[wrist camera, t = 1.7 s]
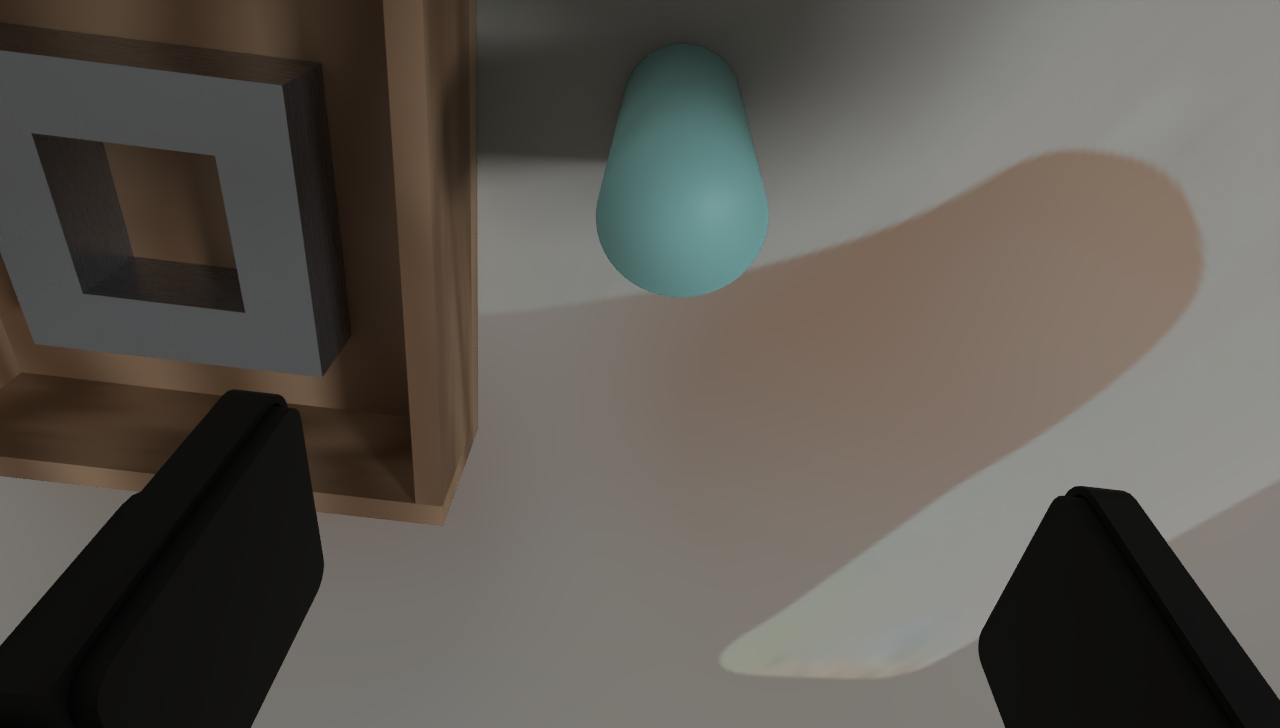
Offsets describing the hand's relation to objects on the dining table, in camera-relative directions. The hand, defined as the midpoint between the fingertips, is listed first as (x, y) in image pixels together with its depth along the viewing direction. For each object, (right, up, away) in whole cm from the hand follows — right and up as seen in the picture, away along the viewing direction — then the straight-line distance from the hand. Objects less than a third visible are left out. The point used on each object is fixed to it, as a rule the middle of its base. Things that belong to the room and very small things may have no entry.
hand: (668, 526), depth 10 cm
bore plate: (-16, +9, +19) cm, 26 cm away
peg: (+1, +11, +17) cm, 20 cm away
